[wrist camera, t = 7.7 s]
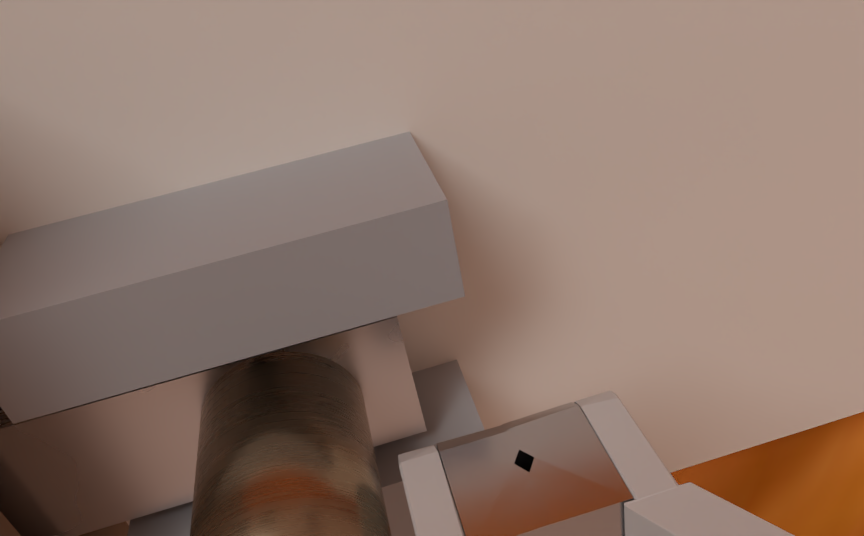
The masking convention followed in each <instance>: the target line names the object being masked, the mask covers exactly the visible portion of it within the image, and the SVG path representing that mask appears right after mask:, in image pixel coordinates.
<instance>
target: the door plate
mask: <svg viewBox="0 0 864 536" xmlns="http://www.w3.org/2000/svg"><path fill="white" fill-rule="evenodd" d="M394 316H397V319H398V322H399V326H400V330H401V334H402V338H403V342H404V345H405V349H406V353H407V357H408V361H409V364H410V368H411V372H412V376H413V380H414V384H415V387H416V391H417V395H418V399H419V403H420V406H421V410H422V414H423V418H424V422H425V426H426V429H427V431H425V432H422V433H419V434H415V435H412V436H409V437H405V438H402V439H399V440H395V441H392V442H389V443H385V444H382V445H379V446H375V447H374V452H375V457H376V462H377V467H378V472H379V476H380V481H381V486H382V491H383V496H384V501H385V506H386V511H387V516H388V521H389V526H390V531H391V536H416V535H415V531H414V527H413V523H412V518H411V514H410V510H409V506H408V502H407V498H406V493H405V489H404V485H403V481H402V477H401V473H400V468H399V460H398V455H399V454H403V453H406V452H410V451H413V450H417V449H420V448H424V447H427V446H431V445H434V444H435V445H436V443H440V442H443V441H447V440H450V439H454V438H458V437H461V436H465V435H468V434H472V433H476V432H479V431H483V430H486V429H490V428H493V427H497V426H501V425H502V424H504V423H507V422H510V421H513V420H517V419H520V418H523V417H526V416H529V415H532V414H535V413H538V412H541V411H545V410H548V409H551V408H554V407H557V406H560V405H563V404H566V403H570V402H573V403H574V402H575V401H577V400H581V399H584V398H587V397H590V396H594V395H597V394H600V393H603V392H606V391H612V392H613V393H615V394H617V396H618V397H619V398H620V400H621V401H622V403H623V404H624V406H625V407H626V409H627V410H628V412H629V413H630V415H631V416H632V418H633V419H634V420H635V422H636V423H637V425H638V426H639V428H640V429H641V431H642V432H643V434H644V435H645V437H646V438H647V440H648V441H649V442H650V444H651V445H652V447H653V448H654V450H655V451H656V453H657V454H658V456H659V457H660V459H661V460H662V462H663V463H664V464H665V466H666V467H667V469H668V470H669V472H670V473H671V472H674V471H677V470H681V469H684V468H687V467H690V466H693V465H696V464H700V463H703V462H706V461H709V460H712V459H715V458H719V457H722V456H725V455H728V454H731V453H734V452H738V451H741V450H744V449H747V448H750V447H753V446H756V445H760V444H763V443H766V442H769V441H772V440H775V439H779V438H782V437H785V436H788V435H791V434H794V433H798V432H801V431H804V430H807V429H810V428H813V427H817V426H820V425H823V424H826V423H829V422H832V421H835V420H839V419H842V418H845V417H848V416H851V415H854V414H858V413H861V412H864V0H0V407H1V408H2V410H3V411H4V412H5V414H6V415H7V416H8V417H9V419H10V420H11V421H12V423H13V424H15V423H19V422H22V421H26V420H29V419H33V418H36V417H40V416H43V415H47V414H50V413H54V412H58V411H61V410H65V409H68V408H72V407H75V406H79V405H82V404H86V403H89V402H93V401H96V400H100V399H104V398H107V397H111V396H114V395H118V394H121V393H125V392H128V391H132V390H135V389H139V388H142V387H146V386H150V385H153V384H157V383H160V382H164V381H167V380H171V379H174V378H178V377H181V376H185V375H188V374H192V373H196V372H199V371H203V370H206V369H210V368H213V367H217V366H220V365H224V364H227V363H231V362H234V361H238V360H242V359H245V358H249V357H252V356H256V355H259V354H263V353H266V352H270V351H273V350H277V349H280V348H284V347H288V346H291V345H295V344H298V343H302V342H305V341H309V340H312V339H316V338H319V337H323V336H327V335H330V334H334V333H337V332H341V331H344V330H348V329H351V328H355V327H358V326H362V325H365V324H369V323H373V322H376V321H380V320H383V319H387V318H390V317H394ZM436 448H437V445H436ZM192 505H193V501H192V502H188V503H185V504H182V505H178V506H175V507H172V508H168V509H165V510H162V511H158V512H155V513H152V514H148V515H145V516H142V517H138V518H135V519H132V520H128V521H125V522H122V523H118V524H115V525H112V526H108V527H105V528H102V529H98V530H95V531H92V532H88V533H85V534H82V535H78V536H190V527H191V516H192ZM0 536H21V535H20V534H19V533H18V531H17V530H16V529H15V528H14V527H13V526H12V524H11V523H10V522H9V521H8V520H7V519H6V517H5V516H4V515H3V514H2V513H1V512H0Z"/></svg>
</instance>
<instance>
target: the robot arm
mask: <svg viewBox="0 0 864 536" xmlns="http://www.w3.org/2000/svg"><path fill="white" fill-rule="evenodd" d="M436 445H437V448H436ZM436 445H435V444H434V445H431V446H427V447H424V448H420V449H417V450H413V451H410V452H406V453H403V454H399V455H398V460H399V468H400V473H401V477H402V481H403V485H404V489H405V493H406V498H407V502H408V506H409V510H410V514H411V518H412V523H413V527H414V531H415V535H416V536H794V535H793V534H791V533H789V532H787V531H785V530H783V529H781V528H779V527H777V526H775V525H773V524H771V523H769V522H767V521H765V520H763V519H761V518H759V517H757V516H755V515H753V514H751V513H750V512H748V511H746V510H744V509H742V508H740V507H738V506H736V505H734V504H732V503H730V502H728V501H726V500H724V499H722V498H720V497H718V496H716V495H714V494H712V493H710V492H709V491H707V490H705V489H703V488H701V487H699V486H697V485H695V484H693V483H691V482H689V483H685V484H682V485H678V484H677V482H676V481H675V479H674V478H673V476H672V475H671V473H670V472H669V470H668V469H667V467H666V466H665V464H664V463H663V462H662V460H661V459H660V457H659V456H658V454H657V453H656V451H655V450H654V448H653V447H652V445H651V444H650V442H649V441H648V440H647V438H646V437H645V435H644V434H643V432H642V431H641V429H640V428H639V426H638V425H637V423H636V422H635V420H634V419H633V418H632V416H631V415H630V413H629V412H628V410H627V409H626V407H625V406H624V404H623V403H622V401H621V400H620V398H619V397H618V396H617V394H615V393H613V392H612V391H606V392H603V393H600V394H597V395H594V396H590V397H587V398H584V399H581V400H577V401H575V402H574V403H573V402H570V403H566V404H563V405H560V406H557V407H554V408H551V409H548V410H545V411H541V412H538V413H535V414H532V415H529V416H526V417H523V418H520V419H517V420H513V421H510V422H507V423H504V424H502V425H501V426H497V427H493V428H490V429H486V430H483V431H479V432H476V433H472V434H468V435H465V436H461V437H458V438H454V439H450V440H447V441H443V442H440V443H436Z"/></svg>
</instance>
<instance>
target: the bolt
mask: <svg viewBox="0 0 864 536" xmlns="http://www.w3.org/2000/svg"><path fill="white" fill-rule="evenodd" d="M425 431H427V429H426V426H425V422H424V418H423V414H422V410H421V406H420V403H419V399H418V395H417V391H416V387H415V384H414V380H413V376H412V372H411V368H410V364H409V361H408V357H407V353H406V349H405V345H404V342H403V338H402V334H401V330H400V326H399V322H398V319H397V316H394V317H390V318H387V319H383V320H380V321H376V322H373V323H369V324H365V325H362V326H358V327H355V328H351V329H348V330H344V331H341V332H337V333H334V334H330V335H327V336H323V337H319V338H316V339H312V340H309V341H305V342H302V343H298V344H295V345H291V346H288V347H284V348H280V349H277V350H273V351H270V352H266V353H263V354H259V355H256V356H252V357H249V358H245V359H242V360H238V361H234V362H231V363H227V364H224V365H220V366H217V367H213V368H210V369H206V370H203V371H199V372H196V373H192V374H188V375H185V376H181V377H178V378H174V379H171V380H167V381H164V382H160V383H157V384H153V385H150V386H146V387H142V388H139V389H135V390H132V391H128V392H125V393H121V394H118V395H114V396H111V397H107V398H104V399H100V400H96V401H93V402H89V403H86V404H82V405H79V406H75V407H72V408H68V409H65V410H61V411H58V412H54V413H50V414H47V415H43V416H40V417H36V418H33V419H29V420H26V421H22V422H19V423H15V424H13V423H12V421H11V420H10V419H9V417H8V416H7V415H6V414H5V412H4V411H3V410H2V408H1V407H0V512H1V513H2V514H3V515H4V516H5V517H6V519H7V520H8V521H9V522H10V523H11V524H12V526H13V527H14V528H15V529H16V530H17V531H18V533H19V534H20V535H21V536H78V535H82V534H85V533H88V532H92V531H95V530H98V529H102V528H105V527H108V526H112V525H115V524H118V523H122V522H125V521H128V520H132V519H135V518H138V517H142V516H145V515H148V514H152V513H155V512H158V511H162V510H165V509H168V508H172V507H175V506H178V505H182V504H185V503H188V502H192V501H193V505H192V516H191V527H190V536H391V531H390V526H389V521H388V516H387V511H386V506H385V501H384V496H383V491H382V486H381V481H380V476H379V472H378V467H377V462H376V457H375V452H374V447H375V446H379V445H382V444H385V443H389V442H392V441H395V440H399V439H402V438H405V437H409V436H412V435H415V434H419V433H422V432H425Z"/></svg>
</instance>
